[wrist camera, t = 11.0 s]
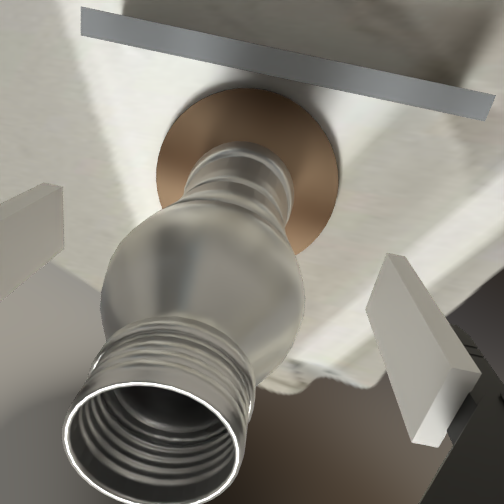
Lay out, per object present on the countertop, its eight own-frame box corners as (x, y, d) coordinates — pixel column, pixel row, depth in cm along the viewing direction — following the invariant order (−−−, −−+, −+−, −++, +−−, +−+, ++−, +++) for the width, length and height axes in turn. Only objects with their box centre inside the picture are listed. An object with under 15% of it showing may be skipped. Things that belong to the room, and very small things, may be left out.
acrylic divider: (120, 19, 23) (80, 6, 18) (454, 90, 23) (495, 95, 19) (119, 42, 23) (80, 35, 19) (446, 112, 24) (484, 121, 19)
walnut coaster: (168, 69, 24) (165, 69, 23) (360, 110, 24) (362, 111, 23) (151, 246, 29) (149, 249, 28) (311, 278, 29) (311, 282, 28)
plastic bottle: (174, 192, 26) (-66, 455, 8) (237, 111, 24) (96, 227, 6) (248, 250, 28) (183, 586, 10) (314, 179, 25) (397, 447, 7)
